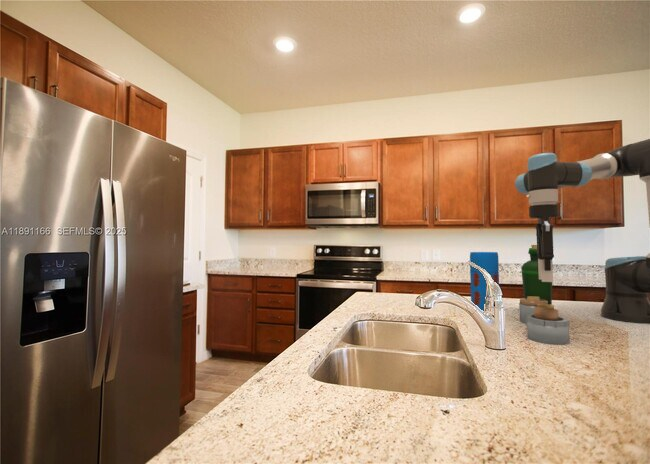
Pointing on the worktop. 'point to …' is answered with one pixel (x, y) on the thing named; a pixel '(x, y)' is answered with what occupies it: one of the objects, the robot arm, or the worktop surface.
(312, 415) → the worktop surface
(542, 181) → the robot arm
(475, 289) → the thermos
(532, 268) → the bottle
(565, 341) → the canister
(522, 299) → the canister
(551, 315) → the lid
